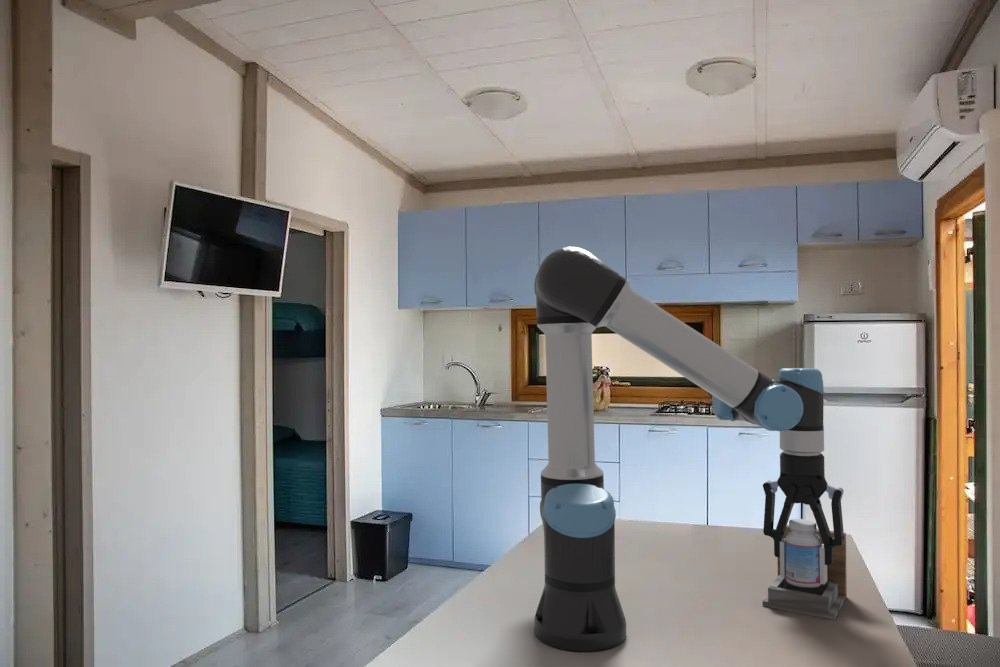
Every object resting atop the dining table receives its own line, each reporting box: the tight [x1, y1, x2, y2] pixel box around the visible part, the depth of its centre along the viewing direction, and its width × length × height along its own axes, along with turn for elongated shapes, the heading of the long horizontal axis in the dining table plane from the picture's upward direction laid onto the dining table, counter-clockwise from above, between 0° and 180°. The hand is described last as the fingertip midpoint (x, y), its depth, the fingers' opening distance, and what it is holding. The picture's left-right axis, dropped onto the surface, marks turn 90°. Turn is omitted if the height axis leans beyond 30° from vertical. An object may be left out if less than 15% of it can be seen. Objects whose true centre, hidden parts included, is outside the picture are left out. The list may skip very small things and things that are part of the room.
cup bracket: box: [762, 524, 848, 621], centre depth 132 cm, size 13×12×12 cm
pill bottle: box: [785, 518, 821, 588], centre depth 131 cm, size 6×6×11 cm
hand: (803, 578), depth 130 cm, fingers closed on pill bottle, 6 cm apart
